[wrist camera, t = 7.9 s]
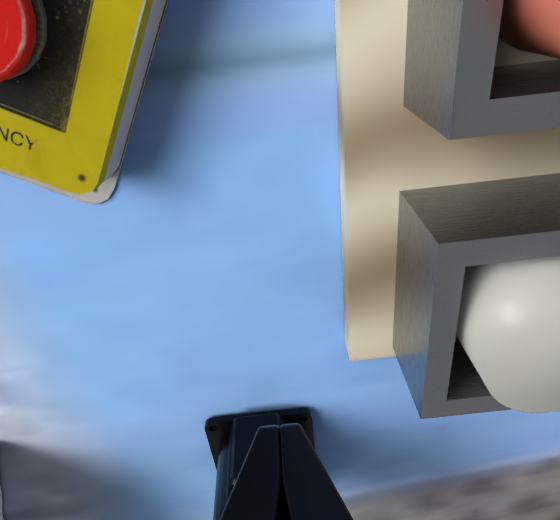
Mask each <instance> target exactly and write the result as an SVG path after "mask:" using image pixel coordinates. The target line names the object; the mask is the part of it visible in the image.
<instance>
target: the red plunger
mask: <svg viewBox="0 0 560 520" xmlns="http://www.w3.org/2000/svg"><path fill="white" fill-rule="evenodd" d="M498 37H499V38H500V39H502V40H503V41H504V42H506V43H507V44H509V45H510V46H513V47H515V48H517V49H519V50H523V51H526V52H530V53H535V54H540V55H545V56H549V57H554V58H559V59H560V0H504V1H503V8H502V15H501V22H500V29H499V36H498Z"/></svg>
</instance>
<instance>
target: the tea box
mask: <svg viewBox="0 0 560 520" xmlns="http://www.w3.org/2000/svg"><path fill="white" fill-rule="evenodd" d="M0 520H3V515H2V493H1V488H0Z"/></svg>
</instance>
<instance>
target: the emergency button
mask: <svg viewBox="0 0 560 520" xmlns="http://www.w3.org/2000/svg"><path fill="white" fill-rule="evenodd" d="M168 1H169V0H0V172H1V173H4V174H7V175H9V176H12V177H15V178H18V179H20V180H23V181H26V182H29V183H32V184H34V185H37V186H40V187H43V188H46V189H48V190H51V191H54V192H57V193H60V194H62V195H65V196H68V197H71V198H73V199H76V200H79V201H82V202H85V203H91V204H99V203H101V202H103V201H105V200H107V199H108V198H109V197H110V195H111V194H112V192H113V191H114V189H115V186H116V183H117V179H118V176H119V172H120V169H121V165H122V162H123V158H124V155H125V151H126V148H127V144H128V141H129V137H130V134H131V130H132V127H133V123H134V120H135V116H136V113H137V110H138V106H139V103H140V99H141V96H142V92H143V89H144V85H145V82H146V78H147V75H148V71H149V68H150V64H151V61H152V57H153V54H154V50H155V47H156V43H157V40H158V36H159V33H160V29H161V26H162V22H163V19H164V15H165V12H166V8H167V5H168Z"/></svg>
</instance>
